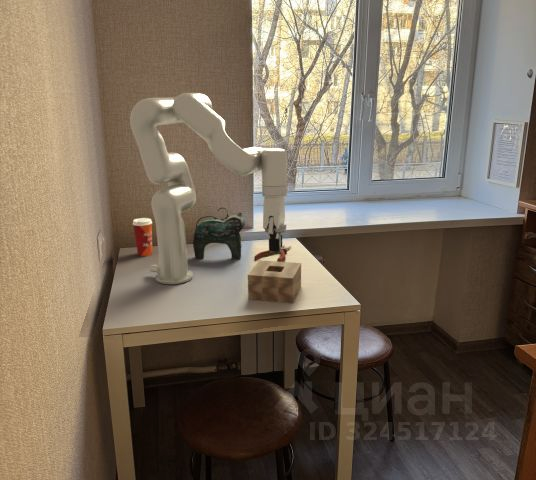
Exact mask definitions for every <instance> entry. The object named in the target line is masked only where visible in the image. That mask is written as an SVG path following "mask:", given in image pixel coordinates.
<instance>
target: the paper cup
mask: <svg viewBox="0 0 536 480" xmlns="http://www.w3.org/2000/svg"><path fill="white" fill-rule="evenodd" d="M132 226H133V231H134V237H135V238H134V239H135V246H136V250H137V255H138V256H140V257H148V256H151V255H153V228H152V227H153V221H152V219H151V218H148V217H140V218H139V217H138V218H134V219H133V220H132Z"/></svg>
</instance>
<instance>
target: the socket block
mask: <svg viewBox="0 0 536 480" xmlns="http://www.w3.org/2000/svg"><path fill="white" fill-rule="evenodd" d="M301 287H302V263H301V262H290V261H289V262H288V261H284V262H277V260H275V261H274V260H262V259H258V260H257V263H256V264H255V265H254V266H253V267H252V269H251V270H250V272H249V273H248V274H247V299H248V300H252V301H253V300H254V301H263V302H265V301H266V302H273V303H274V302H276V303H278V302H279V303H287V304H293V303H294V302H295V299H296V298H297V296H298V293H299V291H300V289H301Z"/></svg>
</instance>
